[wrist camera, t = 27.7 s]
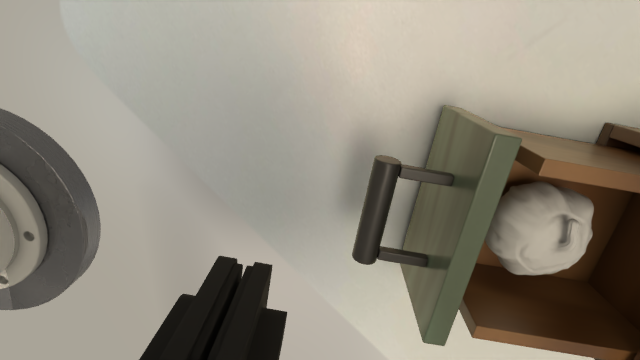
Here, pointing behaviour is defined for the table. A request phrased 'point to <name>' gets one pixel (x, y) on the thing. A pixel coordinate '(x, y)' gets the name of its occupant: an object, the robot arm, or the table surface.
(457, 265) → the drawer
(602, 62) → the table surface
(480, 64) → the table surface
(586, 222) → the garlic
